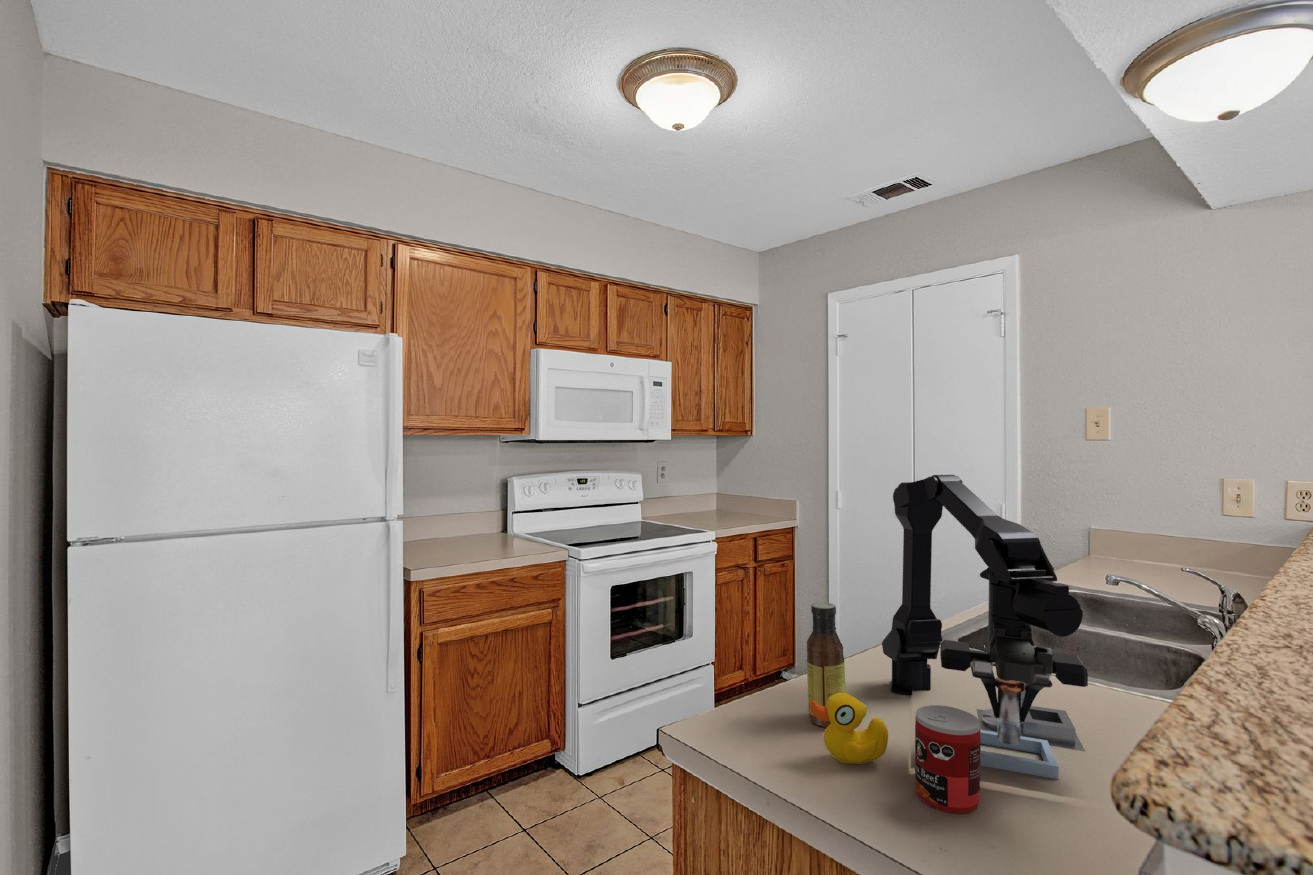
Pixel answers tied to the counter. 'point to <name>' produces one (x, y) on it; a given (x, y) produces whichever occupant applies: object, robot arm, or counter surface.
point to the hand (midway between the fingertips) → (1008, 718)
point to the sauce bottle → (824, 659)
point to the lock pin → (1009, 711)
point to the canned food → (947, 758)
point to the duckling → (850, 730)
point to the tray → (1018, 763)
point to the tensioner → (1040, 726)
